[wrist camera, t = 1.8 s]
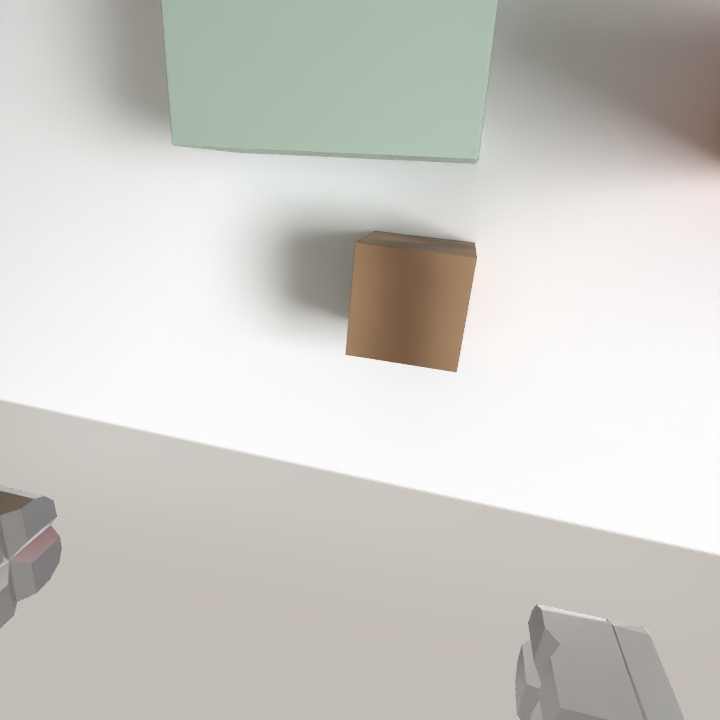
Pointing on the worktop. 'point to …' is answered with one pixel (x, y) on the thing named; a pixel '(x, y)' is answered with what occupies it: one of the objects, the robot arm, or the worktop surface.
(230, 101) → the sage box
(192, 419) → the worktop surface
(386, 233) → the walnut block
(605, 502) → the worktop surface
